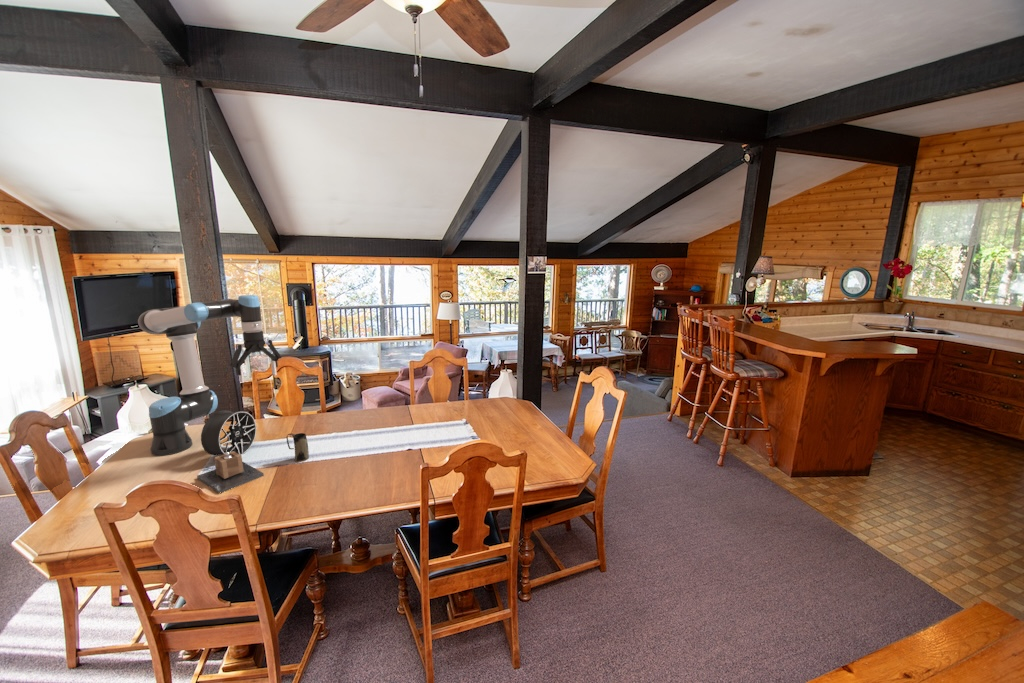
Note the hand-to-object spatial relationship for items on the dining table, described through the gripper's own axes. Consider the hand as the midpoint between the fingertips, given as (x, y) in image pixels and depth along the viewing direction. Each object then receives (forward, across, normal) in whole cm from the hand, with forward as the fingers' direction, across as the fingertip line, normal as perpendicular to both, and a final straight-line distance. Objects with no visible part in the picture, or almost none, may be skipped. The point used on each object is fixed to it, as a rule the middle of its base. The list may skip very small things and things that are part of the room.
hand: (258, 378), depth 187 cm
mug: (+35, +4, -20) cm, 40 cm away
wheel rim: (+35, -10, +10) cm, 38 cm away
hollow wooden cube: (+33, -20, -12) cm, 40 cm away
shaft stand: (+35, -20, -12) cm, 42 cm away
